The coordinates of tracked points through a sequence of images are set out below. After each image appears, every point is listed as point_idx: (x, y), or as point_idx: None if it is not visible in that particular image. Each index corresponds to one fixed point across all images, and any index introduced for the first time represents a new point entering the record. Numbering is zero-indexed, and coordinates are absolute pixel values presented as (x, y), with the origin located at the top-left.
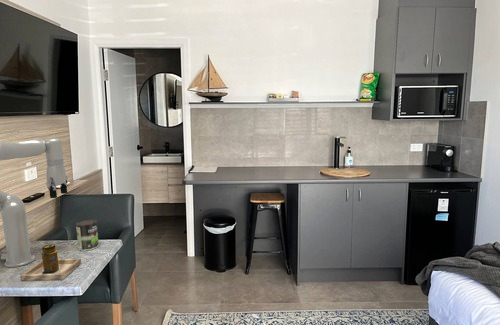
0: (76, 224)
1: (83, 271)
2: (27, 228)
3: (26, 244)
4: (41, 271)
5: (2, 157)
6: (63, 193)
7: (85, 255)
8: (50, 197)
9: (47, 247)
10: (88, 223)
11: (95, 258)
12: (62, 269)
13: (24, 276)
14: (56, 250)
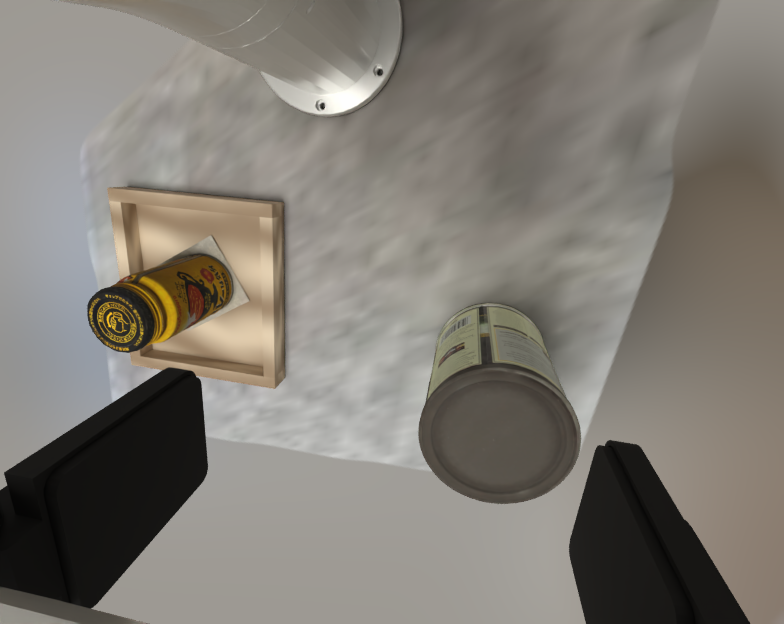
0: (452, 384)
1: (216, 405)
2: (258, 32)
3: (267, 73)
4: (198, 239)
5: None
6: (592, 484)
7: (374, 368)
8: (167, 373)
9: (98, 323)
10: (466, 459)
11: (334, 420)
12: (218, 325)
13: (112, 207)
14: (159, 341)
